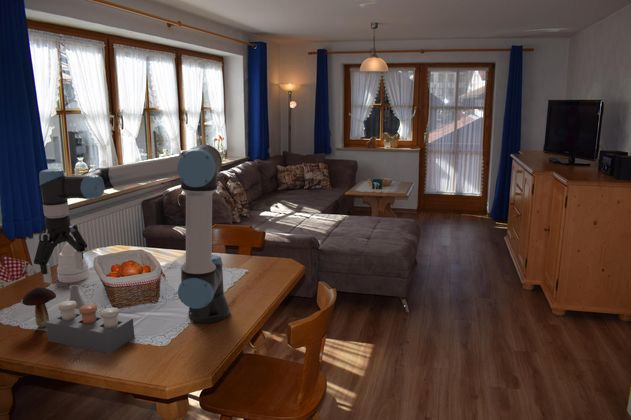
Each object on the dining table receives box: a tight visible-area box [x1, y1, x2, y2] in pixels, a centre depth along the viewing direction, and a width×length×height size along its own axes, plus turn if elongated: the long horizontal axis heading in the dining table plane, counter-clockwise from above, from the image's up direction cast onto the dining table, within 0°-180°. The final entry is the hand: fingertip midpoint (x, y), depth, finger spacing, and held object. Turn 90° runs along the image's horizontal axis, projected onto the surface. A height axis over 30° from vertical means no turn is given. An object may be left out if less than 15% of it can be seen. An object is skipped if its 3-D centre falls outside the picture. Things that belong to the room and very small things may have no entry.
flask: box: [68, 284, 87, 309], centre depth 201 cm, size 7×7×10 cm
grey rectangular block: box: [46, 309, 135, 354], centre depth 178 cm, size 26×12×7 cm, turn 70°
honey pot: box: [56, 238, 90, 284], centre depth 235 cm, size 13×13×18 cm
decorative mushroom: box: [21, 286, 57, 328], centre depth 187 cm, size 11×11×15 cm
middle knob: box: [79, 303, 98, 325], centre depth 177 cm, size 6×6×8 cm
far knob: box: [58, 300, 77, 321], centre depth 180 cm, size 6×6×8 cm
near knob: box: [99, 307, 120, 329], centre depth 174 cm, size 6×6×8 cm
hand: (64, 275), depth 179 cm, fingers open, 13 cm apart
